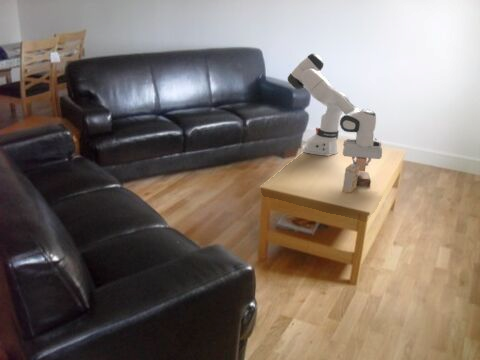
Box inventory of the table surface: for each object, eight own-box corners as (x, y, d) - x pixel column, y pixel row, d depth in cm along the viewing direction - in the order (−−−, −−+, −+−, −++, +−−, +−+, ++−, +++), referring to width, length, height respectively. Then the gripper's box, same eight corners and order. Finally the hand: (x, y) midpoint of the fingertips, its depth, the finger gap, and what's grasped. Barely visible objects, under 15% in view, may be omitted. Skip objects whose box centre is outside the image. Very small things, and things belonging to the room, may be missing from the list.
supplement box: (350, 193, 251) (354, 170, 246) (342, 191, 253) (345, 168, 248) (356, 188, 258) (359, 165, 252) (347, 186, 260) (351, 163, 255)
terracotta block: (355, 170, 261) (357, 158, 258) (354, 167, 265) (356, 155, 263) (364, 171, 260) (366, 159, 258) (363, 168, 265) (365, 156, 262)
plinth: (349, 184, 261) (350, 177, 260) (347, 176, 271) (348, 170, 270) (369, 186, 260) (371, 179, 259) (367, 178, 270) (368, 171, 269)
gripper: (344, 140, 254) (341, 165, 260) (384, 144, 252) (380, 168, 258) (343, 136, 260) (340, 161, 266) (382, 140, 258) (378, 164, 264)
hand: (360, 164), depth 262 cm, fingers closed on terracotta block, 5 cm apart
